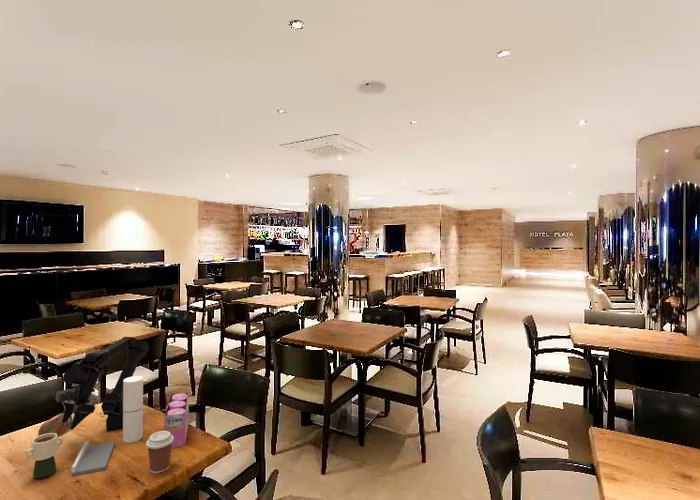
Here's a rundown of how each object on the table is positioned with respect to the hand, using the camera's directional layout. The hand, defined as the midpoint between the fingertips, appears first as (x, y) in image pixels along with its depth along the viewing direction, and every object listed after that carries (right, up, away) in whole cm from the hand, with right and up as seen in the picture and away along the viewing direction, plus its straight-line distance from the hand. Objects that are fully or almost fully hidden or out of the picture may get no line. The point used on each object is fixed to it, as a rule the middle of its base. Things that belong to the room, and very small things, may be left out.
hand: (67, 425), depth 143 cm
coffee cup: (+40, -12, -8) cm, 43 cm away
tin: (-14, -11, +12) cm, 21 cm away
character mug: (+2, -11, -13) cm, 17 cm away
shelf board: (+13, -11, -4) cm, 18 cm away
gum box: (+35, -11, +16) cm, 40 cm away
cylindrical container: (+19, -11, +12) cm, 25 cm away
